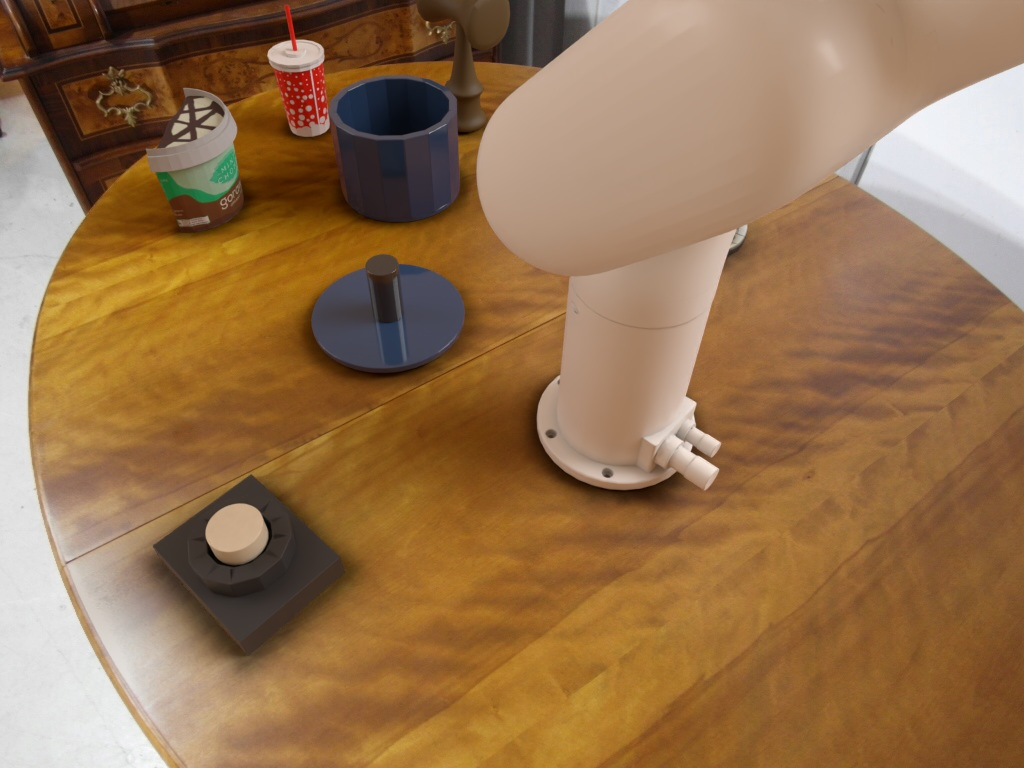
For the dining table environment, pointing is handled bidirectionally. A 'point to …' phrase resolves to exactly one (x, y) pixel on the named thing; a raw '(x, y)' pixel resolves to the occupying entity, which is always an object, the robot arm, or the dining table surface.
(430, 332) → the jar lid
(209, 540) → the release button
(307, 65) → the beverage cup
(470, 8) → the kendama
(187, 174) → the food container
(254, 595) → the button block
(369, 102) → the jar
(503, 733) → the dining table surface
